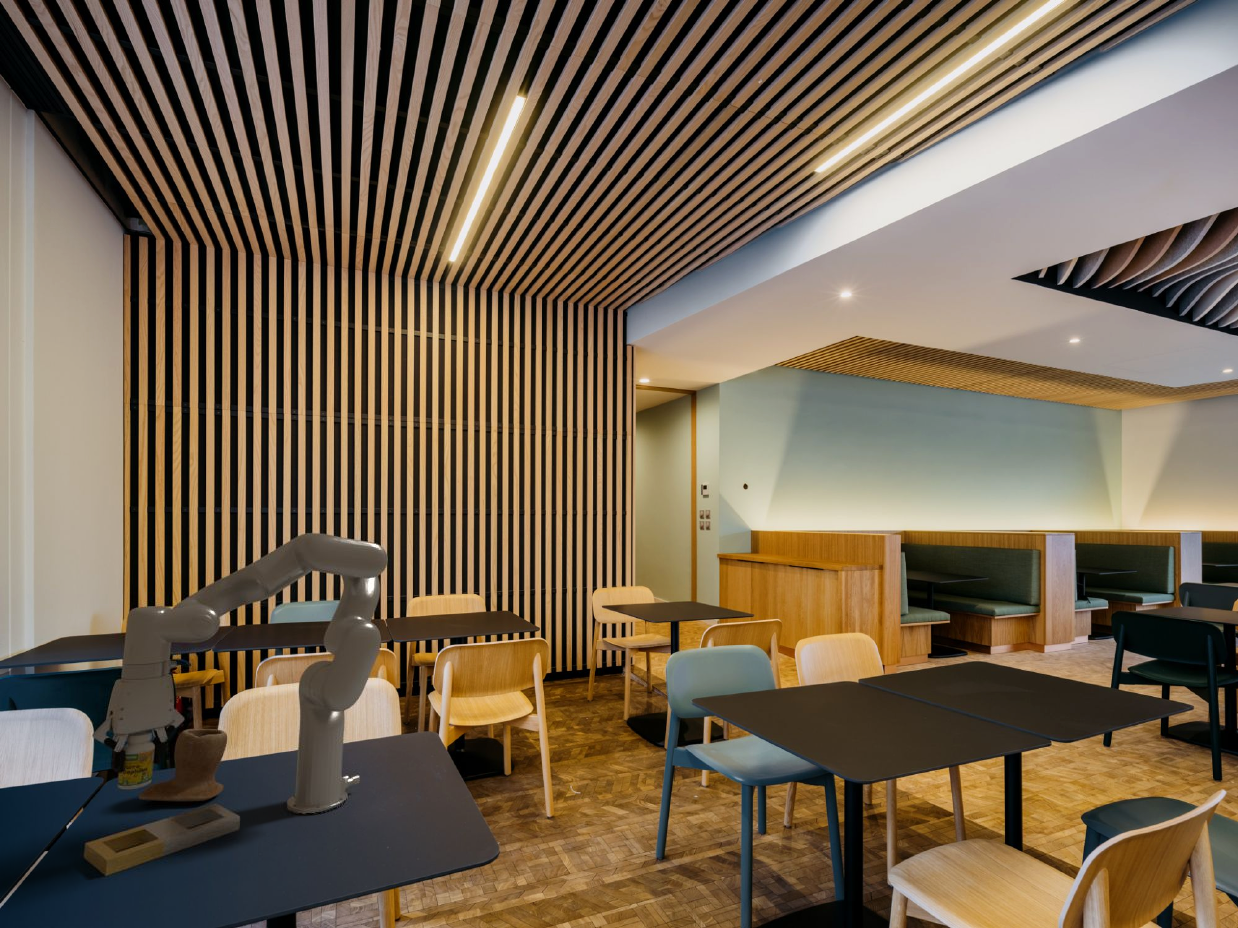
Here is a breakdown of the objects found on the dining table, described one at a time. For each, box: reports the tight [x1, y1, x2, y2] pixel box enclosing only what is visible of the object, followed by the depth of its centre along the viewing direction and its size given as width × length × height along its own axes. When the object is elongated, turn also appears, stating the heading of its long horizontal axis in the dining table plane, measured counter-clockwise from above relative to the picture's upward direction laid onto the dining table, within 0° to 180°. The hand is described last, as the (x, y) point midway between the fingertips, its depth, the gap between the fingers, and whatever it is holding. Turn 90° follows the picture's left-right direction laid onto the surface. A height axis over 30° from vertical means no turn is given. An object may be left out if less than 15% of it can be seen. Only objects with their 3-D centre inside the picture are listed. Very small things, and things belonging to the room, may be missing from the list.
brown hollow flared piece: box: [138, 728, 228, 802], centre depth 154 cm, size 15×12×15 cm
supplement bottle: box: [117, 730, 155, 790], centre depth 128 cm, size 5×5×10 cm
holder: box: [83, 803, 241, 877], centre depth 131 cm, size 23×11×3 cm, turn 145°
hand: (136, 765), depth 127 cm, fingers closed on supplement bottle, 5 cm apart
